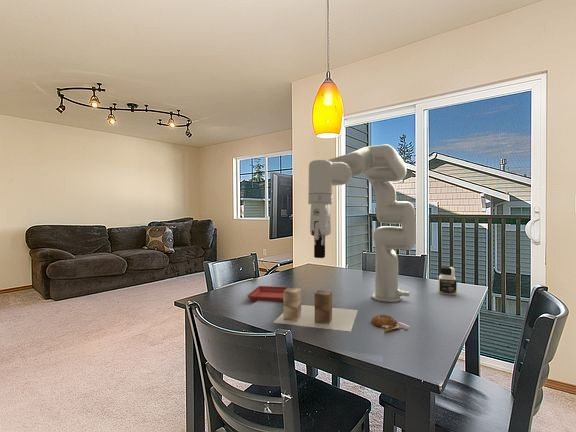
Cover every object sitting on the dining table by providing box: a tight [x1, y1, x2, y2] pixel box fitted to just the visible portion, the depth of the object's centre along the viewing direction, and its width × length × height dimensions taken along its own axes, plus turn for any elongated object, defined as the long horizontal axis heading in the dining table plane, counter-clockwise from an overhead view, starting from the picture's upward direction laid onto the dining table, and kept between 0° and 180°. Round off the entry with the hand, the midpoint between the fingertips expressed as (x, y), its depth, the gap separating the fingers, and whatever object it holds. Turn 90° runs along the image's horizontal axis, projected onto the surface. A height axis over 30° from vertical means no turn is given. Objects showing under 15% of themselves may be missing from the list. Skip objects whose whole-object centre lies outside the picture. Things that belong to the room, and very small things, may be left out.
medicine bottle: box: [438, 265, 458, 296], centre depth 153 cm, size 7×7×12 cm
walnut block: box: [314, 289, 333, 325], centre depth 111 cm, size 5×5×10 cm
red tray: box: [247, 285, 292, 303], centre depth 145 cm, size 18×18×3 cm
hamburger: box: [370, 314, 410, 334], centre depth 109 cm, size 14×14×6 cm
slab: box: [272, 304, 359, 332], centre depth 117 cm, size 26×22×1 cm
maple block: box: [282, 287, 302, 321], centre depth 115 cm, size 5×5×10 cm
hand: (319, 257), depth 104 cm, fingers closed
